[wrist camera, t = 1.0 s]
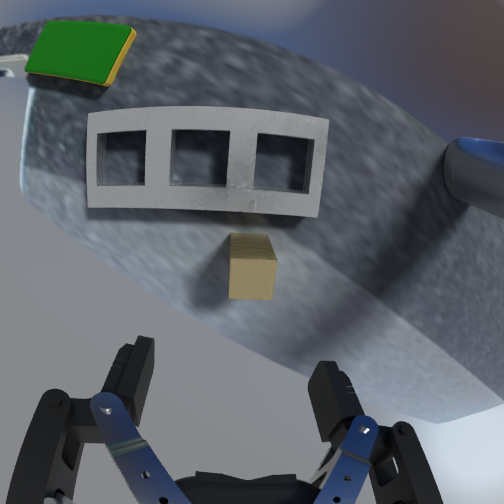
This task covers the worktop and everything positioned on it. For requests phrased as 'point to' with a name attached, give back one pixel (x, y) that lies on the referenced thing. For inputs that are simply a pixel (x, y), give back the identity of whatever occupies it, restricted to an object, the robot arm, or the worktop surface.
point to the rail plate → (205, 194)
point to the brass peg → (251, 267)
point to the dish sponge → (81, 50)
